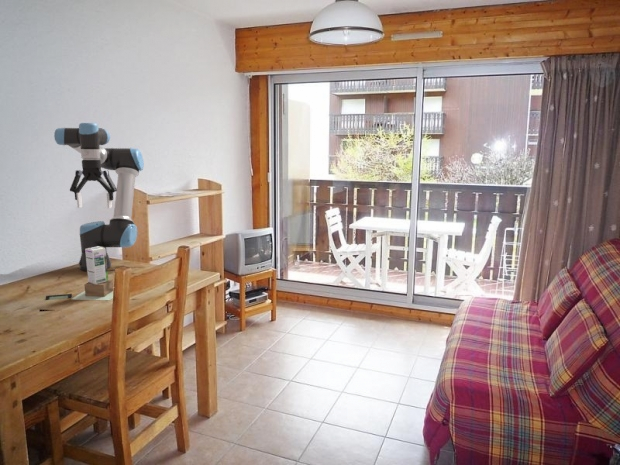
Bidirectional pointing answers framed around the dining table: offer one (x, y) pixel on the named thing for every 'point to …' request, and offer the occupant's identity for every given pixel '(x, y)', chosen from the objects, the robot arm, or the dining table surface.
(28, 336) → the dining table surface
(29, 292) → the dining table surface
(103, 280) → the syrup box
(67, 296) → the calculator
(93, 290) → the walnut block
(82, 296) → the plate
